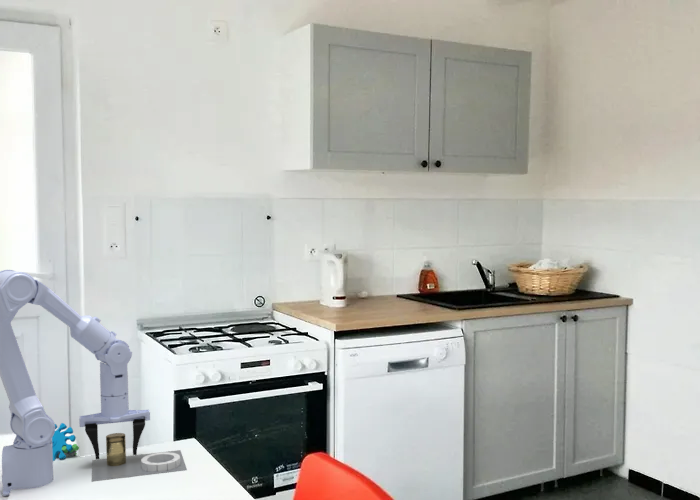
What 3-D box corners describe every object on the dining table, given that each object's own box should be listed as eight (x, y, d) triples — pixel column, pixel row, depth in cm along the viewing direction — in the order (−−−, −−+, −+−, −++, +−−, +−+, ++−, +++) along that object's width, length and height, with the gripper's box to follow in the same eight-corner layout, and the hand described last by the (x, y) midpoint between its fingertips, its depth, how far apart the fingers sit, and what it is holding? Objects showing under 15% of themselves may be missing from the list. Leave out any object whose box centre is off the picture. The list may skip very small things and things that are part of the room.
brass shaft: (106, 467, 158) (106, 439, 158) (106, 461, 162) (105, 434, 161) (126, 464, 159) (125, 437, 159) (125, 459, 163) (125, 432, 163)
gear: (20, 456, 163) (44, 417, 170) (31, 468, 168) (54, 429, 174) (62, 467, 160) (85, 427, 167) (72, 479, 165) (95, 439, 171)
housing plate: (91, 486, 149) (91, 474, 149) (92, 464, 163) (92, 453, 163) (187, 474, 156) (186, 462, 155) (180, 454, 169) (180, 443, 169)
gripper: (78, 401, 154) (80, 465, 154) (150, 394, 158) (151, 457, 159) (79, 393, 160) (81, 455, 161) (148, 387, 165) (149, 447, 166)
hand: (116, 455), depth 160 cm, fingers open, 7 cm apart
